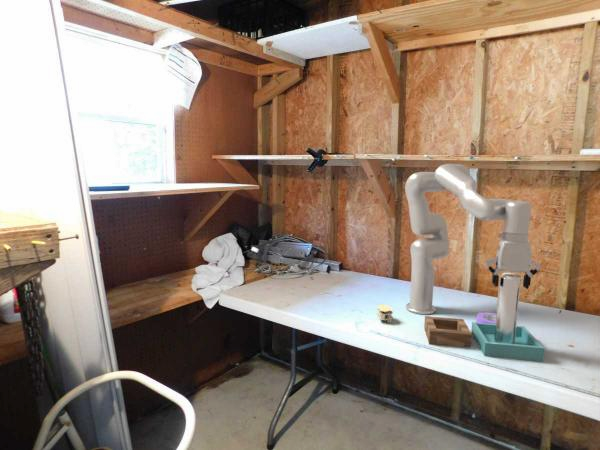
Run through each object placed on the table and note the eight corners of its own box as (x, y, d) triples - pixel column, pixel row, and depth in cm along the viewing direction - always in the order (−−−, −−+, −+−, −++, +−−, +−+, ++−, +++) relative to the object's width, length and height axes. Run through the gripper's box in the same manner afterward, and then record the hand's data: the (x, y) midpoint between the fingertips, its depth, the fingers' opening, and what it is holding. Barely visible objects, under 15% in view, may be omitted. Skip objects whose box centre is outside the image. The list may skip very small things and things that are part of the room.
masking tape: (507, 324, 158) (508, 315, 158) (510, 335, 147) (511, 325, 147) (476, 319, 163) (476, 310, 162) (476, 329, 152) (477, 320, 151)
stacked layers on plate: (368, 317, 163) (368, 304, 162) (387, 315, 166) (388, 303, 165) (379, 327, 154) (380, 313, 153) (400, 324, 156) (400, 311, 155)
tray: (471, 333, 148) (472, 322, 147) (522, 337, 145) (523, 326, 144) (484, 355, 131) (485, 343, 130) (543, 361, 127) (544, 348, 127)
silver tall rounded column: (507, 339, 141) (514, 272, 137) (518, 347, 135) (525, 277, 131) (490, 339, 141) (496, 272, 137) (499, 347, 134) (506, 277, 131)
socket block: (424, 328, 152) (424, 316, 151) (462, 331, 150) (463, 319, 149) (429, 344, 138) (430, 330, 138) (471, 348, 136) (472, 334, 135)
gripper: (491, 238, 130) (486, 288, 132) (548, 241, 127) (542, 291, 129) (484, 234, 137) (480, 281, 140) (538, 237, 134) (533, 285, 137)
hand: (510, 286), depth 134 cm, fingers open, 9 cm apart
